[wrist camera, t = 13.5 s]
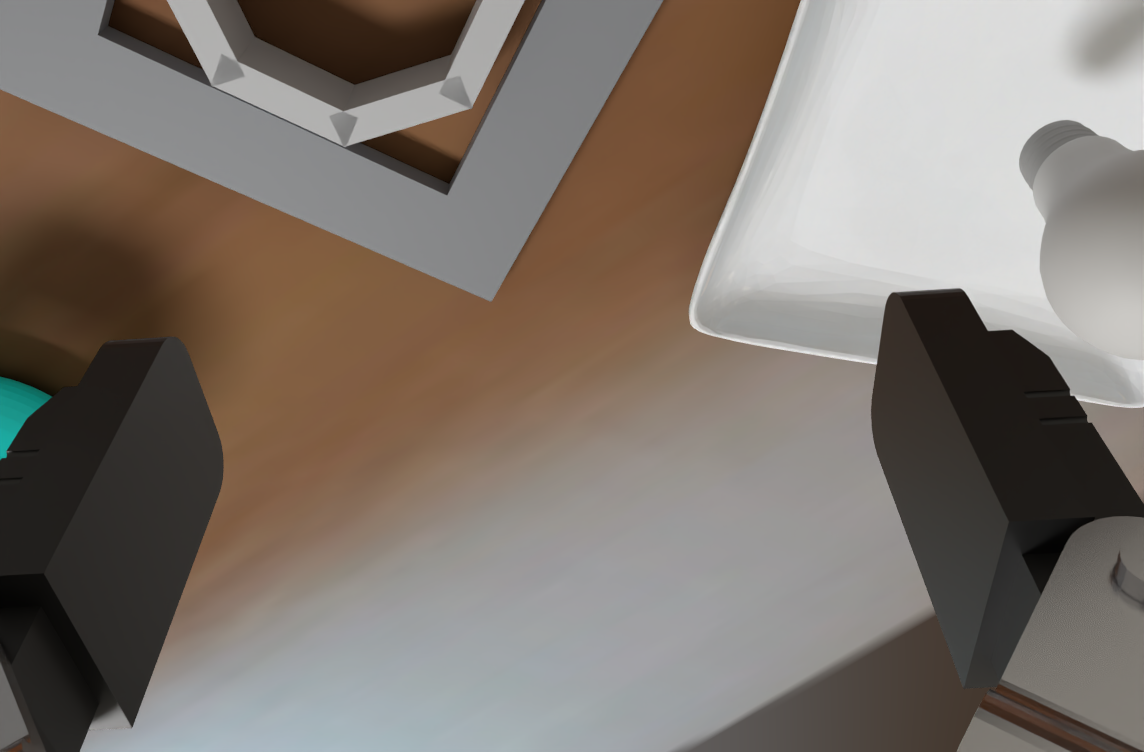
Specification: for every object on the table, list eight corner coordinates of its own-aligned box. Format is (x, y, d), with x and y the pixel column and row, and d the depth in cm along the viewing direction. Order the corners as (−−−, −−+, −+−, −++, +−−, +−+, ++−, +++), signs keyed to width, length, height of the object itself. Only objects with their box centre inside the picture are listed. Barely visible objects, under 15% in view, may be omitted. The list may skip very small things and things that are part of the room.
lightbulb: (1010, 39, 34) (1176, 184, 25) (1172, 82, 35) (1386, 237, 26) (929, 203, 37) (1049, 381, 29) (1078, 237, 38) (1239, 420, 30)
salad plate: (1125, 373, 47) (1161, 421, 44) (673, 293, 44) (681, 339, 41) (1454, -129, 34) (1533, -106, 32) (857, -286, 31) (886, -277, 29)
